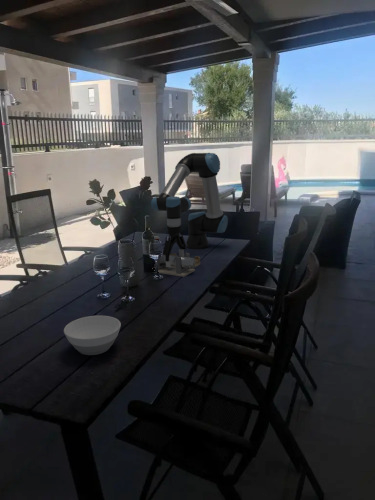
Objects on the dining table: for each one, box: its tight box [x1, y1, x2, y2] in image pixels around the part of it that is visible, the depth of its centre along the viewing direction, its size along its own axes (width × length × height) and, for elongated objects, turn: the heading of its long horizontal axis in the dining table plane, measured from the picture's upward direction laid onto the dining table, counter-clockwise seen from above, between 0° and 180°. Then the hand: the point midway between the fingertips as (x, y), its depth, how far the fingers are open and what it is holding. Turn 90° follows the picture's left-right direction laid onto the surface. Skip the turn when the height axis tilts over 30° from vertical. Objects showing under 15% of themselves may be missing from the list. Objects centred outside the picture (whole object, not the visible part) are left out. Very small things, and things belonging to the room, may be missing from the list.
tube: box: [159, 253, 195, 269], centre depth 236 cm, size 22×6×6 cm, turn 60°
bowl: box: [63, 315, 122, 356], centre depth 151 cm, size 19×20×8 cm
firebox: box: [153, 252, 196, 278], centre depth 238 cm, size 22×12×10 cm, turn 60°
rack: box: [170, 252, 201, 268], centre depth 251 cm, size 19×9×4 cm, turn 60°
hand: (175, 263), depth 237 cm, fingers open, 13 cm apart
